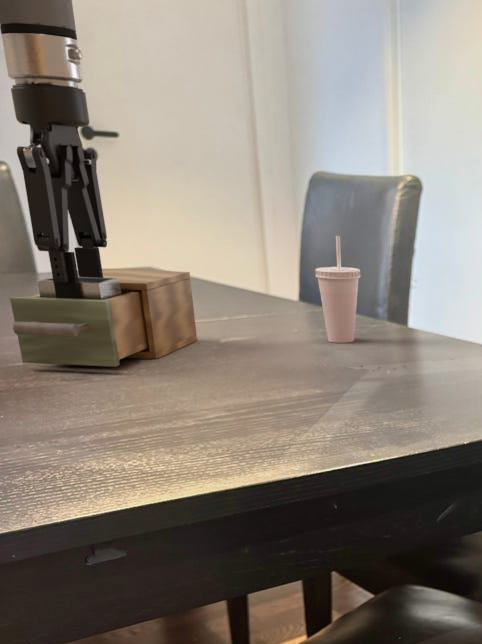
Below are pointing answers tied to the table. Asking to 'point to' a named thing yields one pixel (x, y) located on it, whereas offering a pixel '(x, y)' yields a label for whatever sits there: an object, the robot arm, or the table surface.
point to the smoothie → (339, 299)
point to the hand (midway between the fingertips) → (83, 307)
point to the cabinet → (161, 308)
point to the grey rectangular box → (85, 288)
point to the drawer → (80, 329)
